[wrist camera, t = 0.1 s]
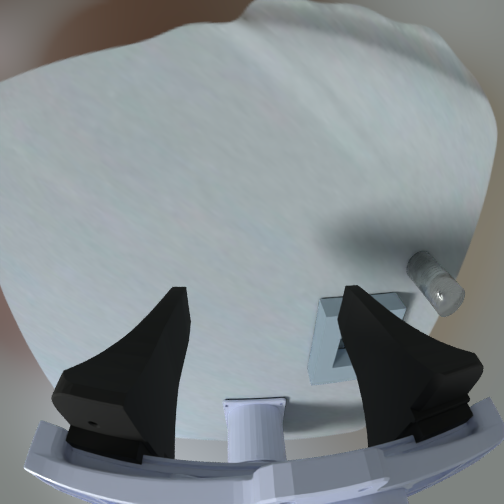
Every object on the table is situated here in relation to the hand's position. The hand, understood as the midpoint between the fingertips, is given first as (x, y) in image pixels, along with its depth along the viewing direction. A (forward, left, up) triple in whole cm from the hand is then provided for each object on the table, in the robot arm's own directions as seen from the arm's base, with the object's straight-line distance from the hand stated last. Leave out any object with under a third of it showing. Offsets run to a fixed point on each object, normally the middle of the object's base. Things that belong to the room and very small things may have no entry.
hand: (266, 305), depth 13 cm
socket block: (-13, -10, -10) cm, 19 cm away
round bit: (-5, -16, -10) cm, 19 cm away
